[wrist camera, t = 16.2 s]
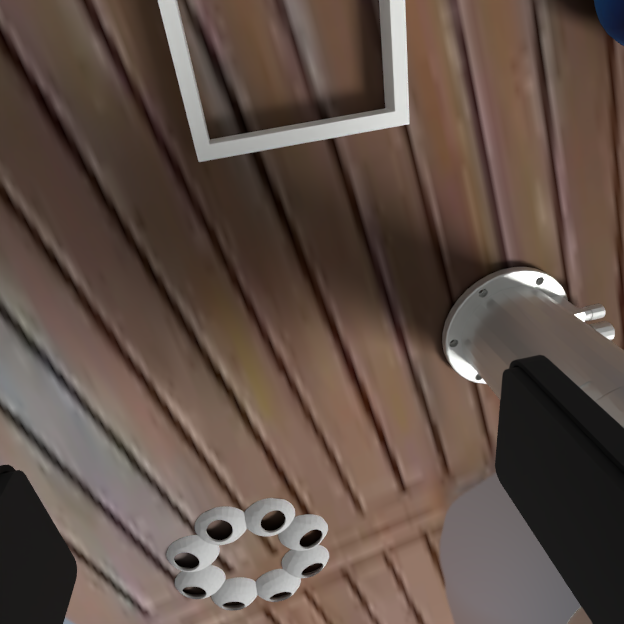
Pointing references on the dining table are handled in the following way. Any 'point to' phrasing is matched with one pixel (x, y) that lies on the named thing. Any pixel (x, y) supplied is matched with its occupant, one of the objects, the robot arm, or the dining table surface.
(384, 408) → the dining table surface
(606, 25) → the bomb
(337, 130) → the white square frame
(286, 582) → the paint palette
